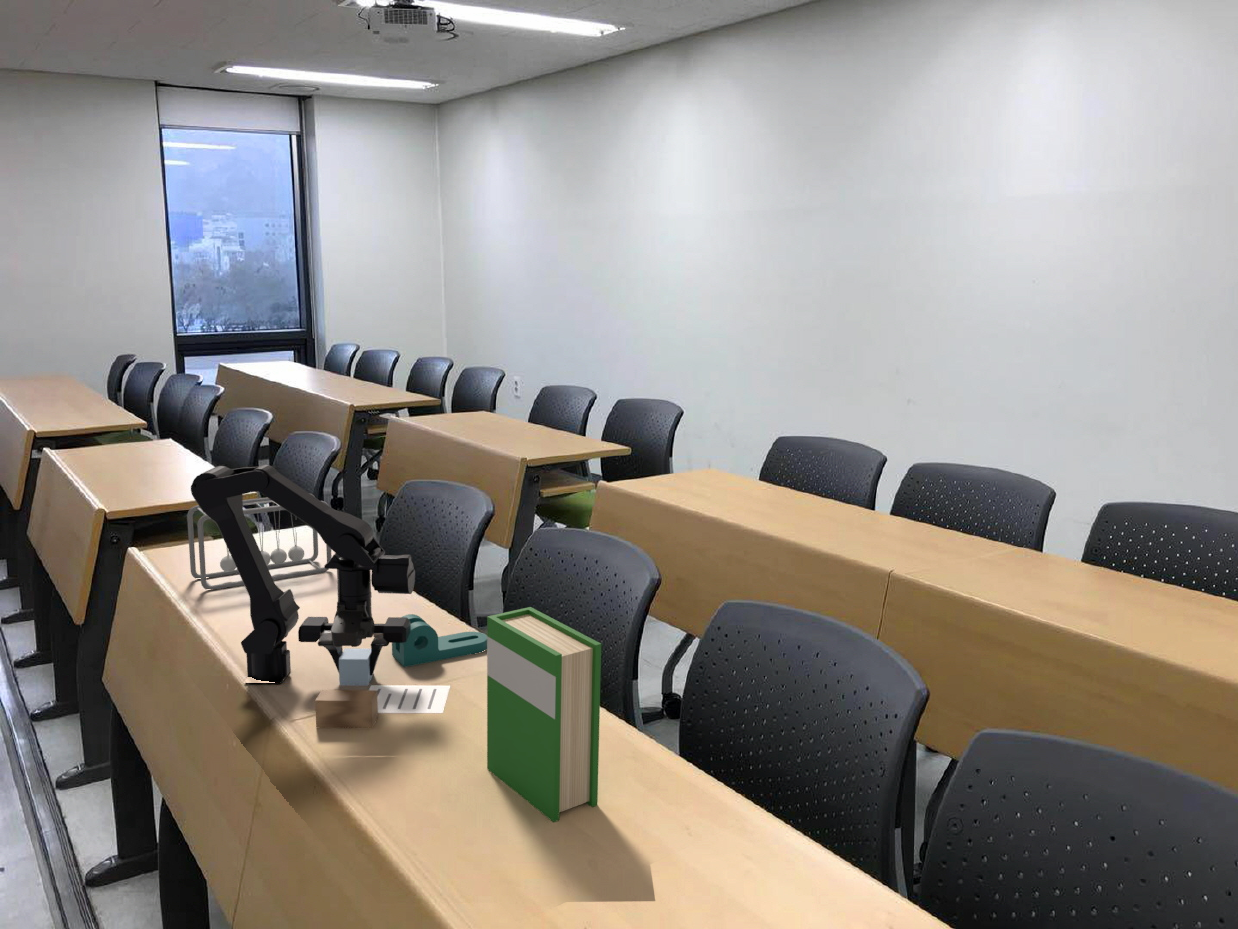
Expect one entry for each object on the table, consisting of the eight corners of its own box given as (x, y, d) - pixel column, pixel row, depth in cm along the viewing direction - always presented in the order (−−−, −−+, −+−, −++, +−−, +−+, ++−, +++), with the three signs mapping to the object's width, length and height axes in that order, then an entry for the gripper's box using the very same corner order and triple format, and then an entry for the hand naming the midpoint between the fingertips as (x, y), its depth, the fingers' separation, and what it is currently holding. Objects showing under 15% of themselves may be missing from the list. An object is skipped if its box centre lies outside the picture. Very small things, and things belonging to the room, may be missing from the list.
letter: (357, 713, 164) (357, 712, 164) (371, 685, 174) (371, 685, 174) (442, 713, 164) (442, 713, 164) (450, 686, 175) (450, 685, 175)
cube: (339, 685, 174) (338, 659, 173) (345, 674, 179) (345, 648, 178) (368, 686, 174) (367, 659, 173) (373, 674, 179) (372, 648, 178)
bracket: (404, 668, 183) (403, 628, 181) (392, 656, 188) (391, 617, 187) (493, 651, 192) (493, 613, 190) (479, 640, 197) (479, 602, 196)
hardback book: (597, 805, 138) (601, 643, 133) (553, 822, 133) (556, 655, 128) (529, 755, 151) (530, 606, 147) (487, 769, 147) (487, 616, 142)
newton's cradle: (317, 560, 246) (315, 491, 243) (332, 571, 238) (330, 500, 234) (190, 580, 229) (186, 506, 225) (202, 592, 220) (197, 516, 217)
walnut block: (316, 729, 158) (315, 700, 157) (323, 718, 162) (322, 689, 161) (372, 730, 158) (371, 701, 157) (377, 718, 162) (377, 690, 161)
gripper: (287, 606, 165) (291, 693, 168) (400, 607, 166) (401, 694, 169) (305, 585, 176) (308, 667, 179) (410, 586, 177) (411, 668, 180)
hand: (356, 674), depth 176 cm, fingers closed on cube, 5 cm apart
